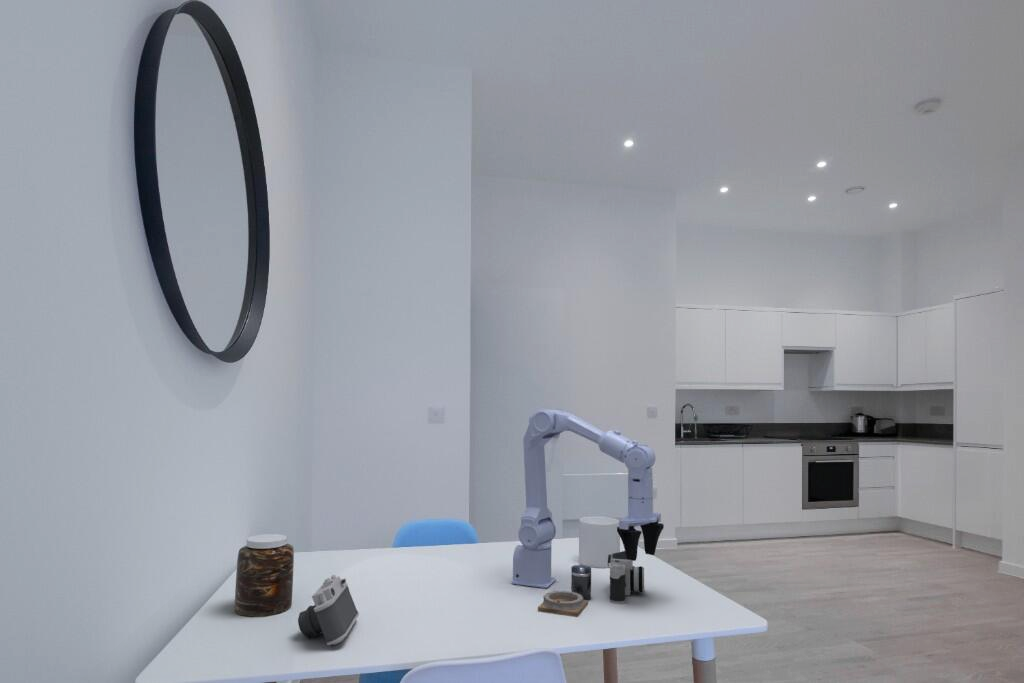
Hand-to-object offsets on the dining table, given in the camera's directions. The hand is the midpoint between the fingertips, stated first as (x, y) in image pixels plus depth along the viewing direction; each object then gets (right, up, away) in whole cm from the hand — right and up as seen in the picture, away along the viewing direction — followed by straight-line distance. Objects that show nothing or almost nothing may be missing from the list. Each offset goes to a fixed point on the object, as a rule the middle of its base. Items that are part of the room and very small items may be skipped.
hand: (640, 557), depth 142 cm
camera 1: (-66, -7, -23) cm, 70 cm away
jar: (-84, -8, -9) cm, 85 cm away
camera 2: (-3, -11, +4) cm, 12 cm away
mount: (-19, -9, -6) cm, 21 cm away
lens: (-14, -10, +1) cm, 17 cm away
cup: (-5, -14, +33) cm, 36 cm away
